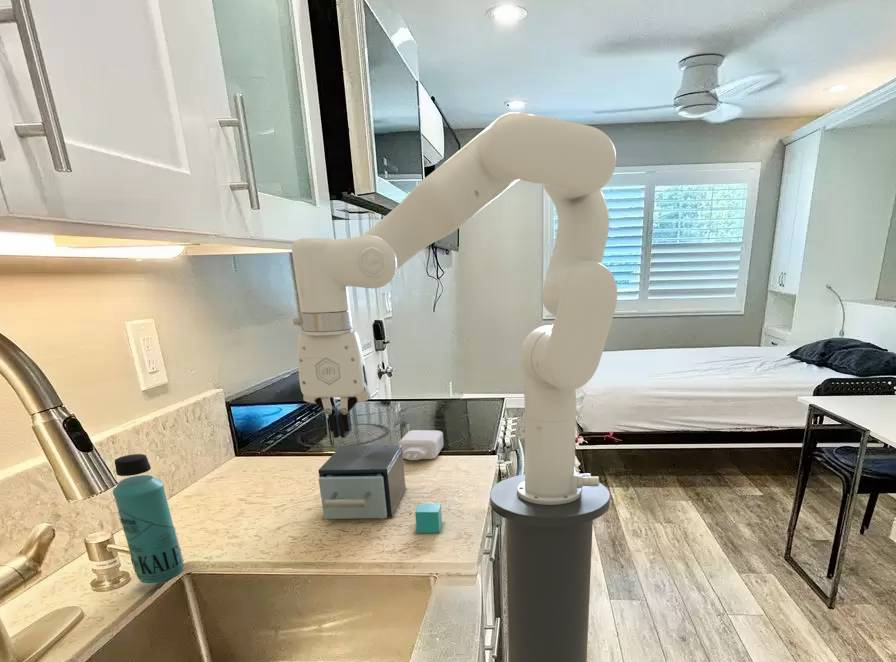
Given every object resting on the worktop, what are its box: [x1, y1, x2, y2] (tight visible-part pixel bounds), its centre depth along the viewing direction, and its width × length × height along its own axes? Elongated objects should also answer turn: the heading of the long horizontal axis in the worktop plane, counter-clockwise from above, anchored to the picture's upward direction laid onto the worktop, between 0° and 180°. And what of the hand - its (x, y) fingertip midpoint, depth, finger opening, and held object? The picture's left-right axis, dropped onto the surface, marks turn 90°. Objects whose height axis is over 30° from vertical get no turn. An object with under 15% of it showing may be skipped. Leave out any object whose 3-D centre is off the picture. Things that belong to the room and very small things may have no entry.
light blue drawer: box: [318, 473, 387, 520], centre depth 107 cm, size 18×11×8 cm, turn 178°
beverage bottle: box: [112, 453, 185, 584], centre depth 83 cm, size 6×7×20 cm
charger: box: [397, 429, 445, 461], centre depth 138 cm, size 5×9×15 cm
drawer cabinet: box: [317, 444, 407, 519], centre depth 111 cm, size 15×13×10 cm
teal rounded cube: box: [414, 502, 443, 534], centre depth 101 cm, size 4×4×4 cm
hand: (341, 435), depth 97 cm, fingers closed
